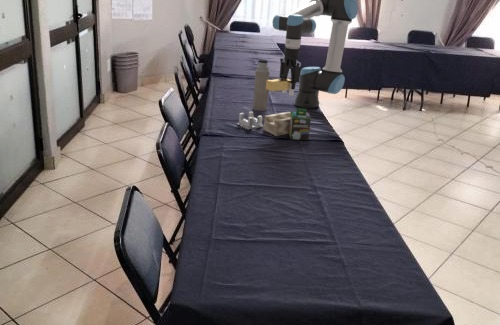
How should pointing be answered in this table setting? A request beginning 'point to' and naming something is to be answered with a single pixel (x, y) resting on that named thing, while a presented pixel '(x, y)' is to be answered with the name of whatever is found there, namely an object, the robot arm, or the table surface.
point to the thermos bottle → (261, 86)
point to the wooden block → (278, 84)
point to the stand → (250, 121)
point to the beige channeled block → (277, 123)
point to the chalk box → (299, 125)
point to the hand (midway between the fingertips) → (287, 93)
